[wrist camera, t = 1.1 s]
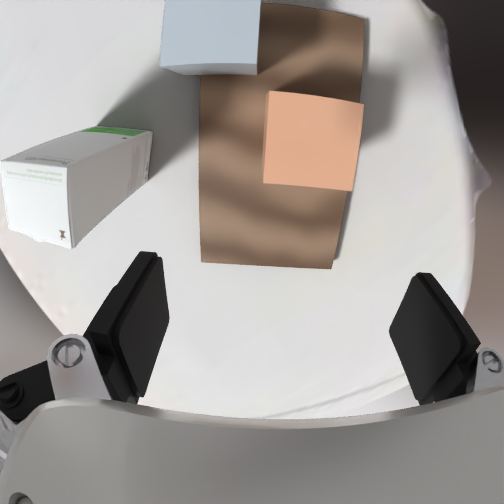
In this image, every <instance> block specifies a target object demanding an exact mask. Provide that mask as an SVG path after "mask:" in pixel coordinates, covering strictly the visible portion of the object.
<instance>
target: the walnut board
mask: <svg viewBox="0 0 504 504" xmlns="http://www.w3.org/2000/svg"><path fill="white" fill-rule="evenodd" d="M363 46H364V19H362V18H358V17H354V16H350V15H346V14H341V13H337V12H332V11H327V10H321V9H316V8H309V7H302V6H295V5H286V4H275V3H261V20H260V36H259V52H258V68H257V75H237V74H209V75H201V79H200V106H199V216H200V245H201V262H206V263H223V264H240V265H257V266H276V267H295V268H316V269H331V268H332V264H333V260H334V255H335V251H336V247H337V242H338V237H339V233H340V228H341V223H342V218H343V213H344V207H345V202H346V197H347V191H345V190H336V189H327V188H317V187H307V186H295V185H283V184H269V183H263V171H262V153H263V138H264V122H265V107H266V94H267V93H268V92H269V91H279V92H289V93H299V94H307V95H314V96H321V97H328V98H334V99H340V100H345V101H350V102H355V103H360V93H361V81H362V66H363Z"/></svg>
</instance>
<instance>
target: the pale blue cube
mask: <svg viewBox="0 0 504 504" xmlns="http://www.w3.org/2000/svg"><path fill="white" fill-rule="evenodd" d="M260 20H261V0H165V6H164V14H163V24H162V35H161V48H160V65H159V67H162V68H165V69H168V70H171V71H174V72H177V73H180V74H183V75H209V74H237V75H257V68H258V52H259V36H260Z"/></svg>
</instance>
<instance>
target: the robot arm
mask: <svg viewBox="0 0 504 504" xmlns="http://www.w3.org/2000/svg"><path fill="white" fill-rule="evenodd" d="M168 324H169V310H168V303H167V295H166V287H165V279H164V270H163V261H162V258H161V257H158V255H157V253H156V252H144V251H140V252H139V254H138V255H137V256H136V258H135V259H134V261H133V262H132V264H131V265H130V266H129V268H128V269H127V271H126V272H125V274H124V275H123V277H122V278H121V280H120V281H119V283H118V284H117V285H116V286H114V287H113V288H112V290H111V291H110V293H109V295H108V296H107V298H106V299H105V301H104V302H103V304H102V305H101V307H100V309H99V310H98V312H97V313H96V315H95V317H94V318H93V320H92V321H91V323H90V325H89V326H88V328H87V330H86V331H85V333H84V335H83V336H80V335H77V334H69V335H64V336H62V337H60V338H58V339H57V340H55V341H54V342H53V343H52V344H51V346H50V347H49V350H48V352H47V360H46V361H44V362H42V363H39V364H37V365H34V366H32V367H29V368H27V369H24V370H22V371H19V372H17V373H15V374H12V375H9V376H7V377H5V378H3V379H2V380H1V381H0V504H504V361H503V359H502V358H501V356H500V355H499V354H498V353H497V352H496V351H494V350H493V349H490V348H482V349H481V350H480V351H479V353H478V354H477V352H476V349H477V348H478V346H479V345H480V344H481V343H480V341H479V339H478V338H477V336H476V335H475V333H474V332H473V330H472V329H471V327H470V326H469V324H468V323H467V321H466V320H465V318H464V317H463V315H462V314H461V312H460V311H459V310H458V308H457V307H456V305H455V304H454V303H453V301H452V300H451V299H450V297H449V296H448V294H447V293H446V292H445V290H444V289H443V288H442V287H441V285H440V284H439V283H438V281H437V280H436V279H435V278H434V276H433V275H432V274H431V273H421V272H419V273H417V274H416V275H415V276H413V277H412V279H411V281H410V284H409V286H408V289H407V291H406V293H405V296H404V298H403V300H402V302H401V305H400V307H399V309H398V311H397V313H396V315H395V317H394V319H393V322H392V324H391V326H390V329H389V334H390V337H391V339H392V342H393V344H394V346H395V349H396V351H397V353H398V356H399V358H400V361H401V363H402V366H403V368H404V371H405V373H406V376H407V378H408V381H409V383H410V386H411V389H412V391H413V394H414V397H415V399H416V400H418V401H419V404H420V406H416V407H411V408H406V409H400V410H395V411H388V412H383V413H375V414H367V415H359V416H349V417H337V418H322V419H248V418H232V417H221V416H211V415H202V414H194V413H186V412H179V411H172V410H166V409H160V408H154V407H149V406H143V405H137V403H138V400H139V397H144V395H145V393H146V390H147V386H148V383H149V380H150V377H151V374H152V371H153V368H154V365H155V362H156V359H157V356H158V353H159V350H160V347H161V344H162V341H163V338H164V335H165V332H166V330H167V327H168ZM434 401H435V402H434ZM127 402H128V403H127ZM433 402H434V403H433ZM131 403H132V404H131Z"/></svg>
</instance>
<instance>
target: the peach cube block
mask: <svg viewBox="0 0 504 504" xmlns="http://www.w3.org/2000/svg"><path fill="white" fill-rule="evenodd" d="M363 112H364V104H360V103H355V102H350V101H345V100H340V99H334V98H328V97H321V96H314V95H307V94H299V93H289V92H279V91H269V92H268V93H267V94H266V107H265V122H264V138H263V153H262V171H263V183H269V184H283V185H295V186H307V187H317V188H327V189H336V190H345V191H352V189H353V183H354V177H355V171H356V165H357V158H358V152H359V145H360V137H361V129H362V121H363Z"/></svg>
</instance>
